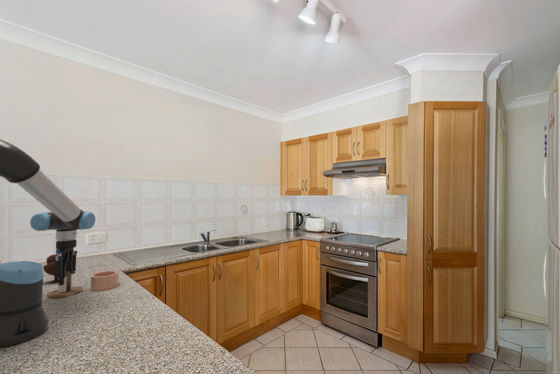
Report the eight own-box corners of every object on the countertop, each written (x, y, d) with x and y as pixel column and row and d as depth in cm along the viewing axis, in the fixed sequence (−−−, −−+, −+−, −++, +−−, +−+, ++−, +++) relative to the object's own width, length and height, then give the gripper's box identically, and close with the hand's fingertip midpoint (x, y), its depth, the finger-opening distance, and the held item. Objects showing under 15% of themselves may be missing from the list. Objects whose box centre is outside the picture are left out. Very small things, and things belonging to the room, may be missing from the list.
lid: (72, 297, 117) (72, 275, 117) (39, 299, 115) (39, 276, 115) (88, 287, 130) (88, 267, 130) (59, 289, 128) (59, 268, 128)
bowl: (111, 291, 126) (111, 276, 126) (85, 292, 124) (85, 278, 124) (121, 283, 137) (121, 270, 137) (98, 285, 135) (98, 271, 135)
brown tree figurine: (54, 286, 133) (54, 257, 134) (36, 285, 135) (37, 256, 136) (74, 280, 143) (75, 252, 144) (58, 279, 146) (58, 251, 146)
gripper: (63, 242, 115) (62, 296, 115) (85, 236, 132) (84, 283, 131) (44, 243, 114) (43, 297, 113) (68, 237, 131) (67, 284, 130)
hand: (65, 289), depth 122 cm, fingers closed on lid, 4 cm apart
